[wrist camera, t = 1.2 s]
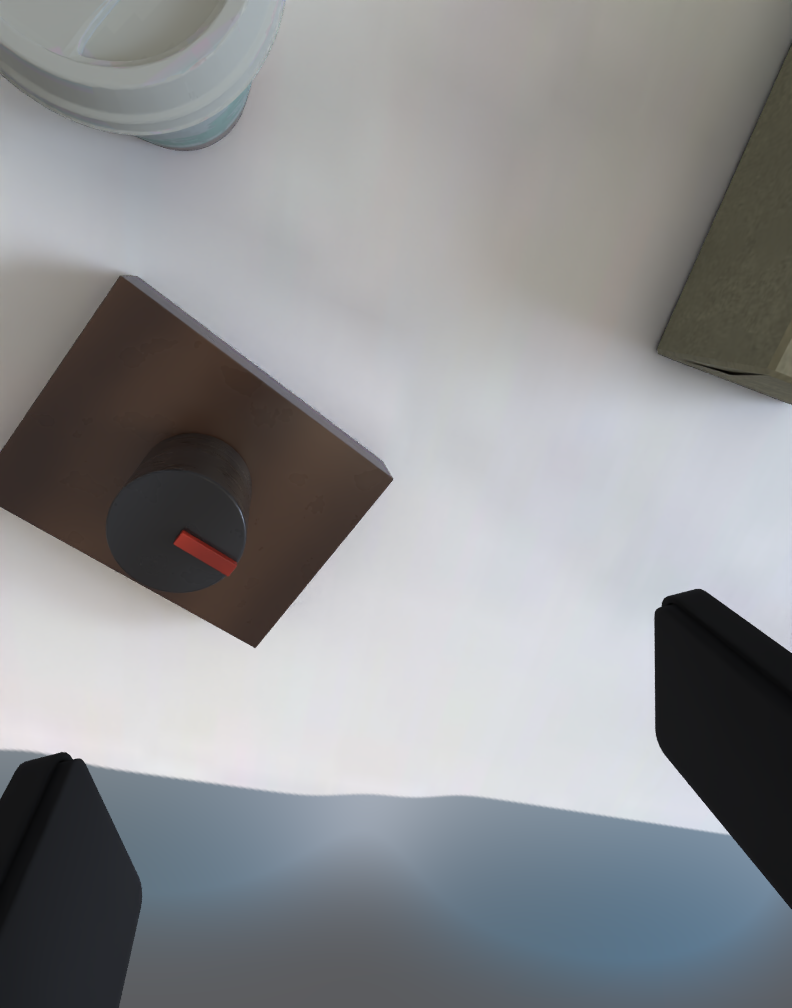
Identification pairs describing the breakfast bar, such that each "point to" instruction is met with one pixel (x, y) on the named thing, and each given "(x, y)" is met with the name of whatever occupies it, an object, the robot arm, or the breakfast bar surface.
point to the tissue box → (746, 267)
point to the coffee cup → (140, 62)
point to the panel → (179, 410)
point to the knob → (182, 515)
